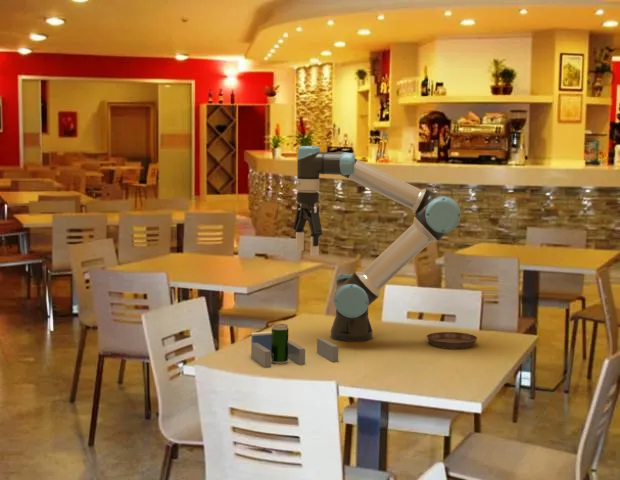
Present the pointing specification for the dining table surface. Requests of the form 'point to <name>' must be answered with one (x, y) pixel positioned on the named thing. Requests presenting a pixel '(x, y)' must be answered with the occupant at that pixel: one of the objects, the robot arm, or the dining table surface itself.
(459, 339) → the plant saucer
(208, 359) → the dining table surface
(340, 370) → the dining table surface
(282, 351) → the beer can
